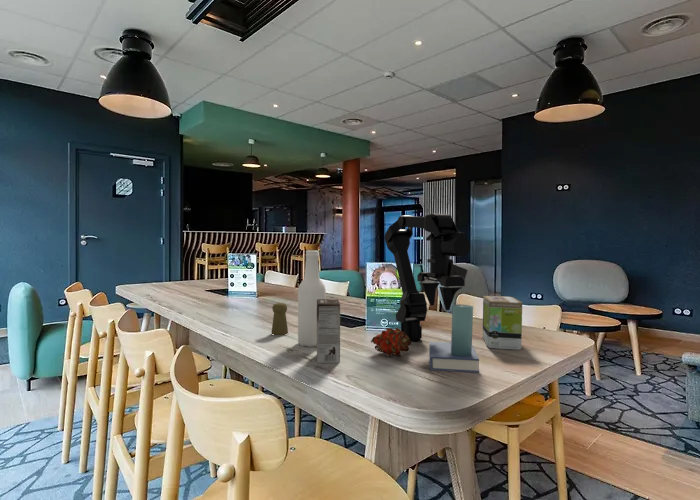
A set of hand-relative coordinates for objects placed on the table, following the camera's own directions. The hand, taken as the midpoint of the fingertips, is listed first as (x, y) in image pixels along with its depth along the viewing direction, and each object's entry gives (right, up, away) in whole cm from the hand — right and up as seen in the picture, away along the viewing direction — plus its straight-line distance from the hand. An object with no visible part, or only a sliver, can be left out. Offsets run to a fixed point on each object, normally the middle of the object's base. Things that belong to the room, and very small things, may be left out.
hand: (439, 307), depth 119 cm
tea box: (+22, -13, +9) cm, 27 cm away
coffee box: (-33, -13, -8) cm, 37 cm away
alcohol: (-39, -13, +8) cm, 42 cm away
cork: (-52, -13, +22) cm, 58 cm away
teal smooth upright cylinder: (+2, -10, -15) cm, 18 cm away
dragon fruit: (-15, -13, -4) cm, 21 cm away
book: (+1, -13, -11) cm, 17 cm away
